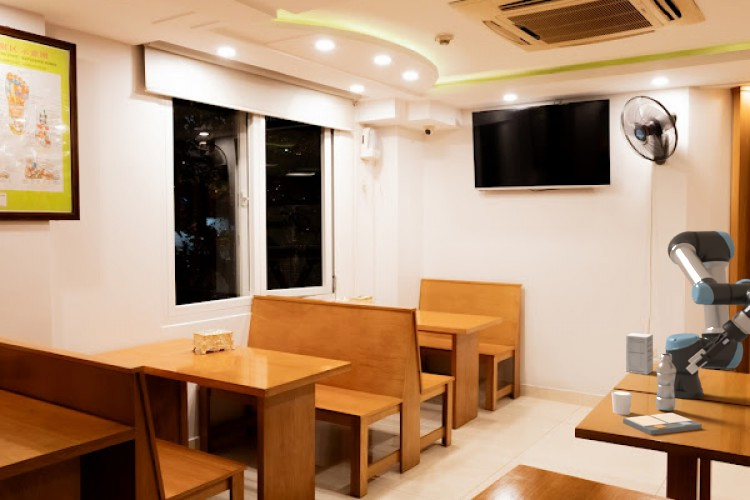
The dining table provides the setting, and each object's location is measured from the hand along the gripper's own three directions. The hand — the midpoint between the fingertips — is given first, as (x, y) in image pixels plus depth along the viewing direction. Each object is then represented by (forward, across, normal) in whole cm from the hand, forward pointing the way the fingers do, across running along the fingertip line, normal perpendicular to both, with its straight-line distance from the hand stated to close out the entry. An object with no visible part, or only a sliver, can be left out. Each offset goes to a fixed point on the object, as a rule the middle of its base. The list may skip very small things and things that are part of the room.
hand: (689, 367), depth 221 cm
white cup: (+27, -9, +3) cm, 28 cm away
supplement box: (+28, +61, +5) cm, 67 cm away
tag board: (+17, -18, -6) cm, 26 cm away
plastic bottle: (+17, +1, -6) cm, 18 cm away
